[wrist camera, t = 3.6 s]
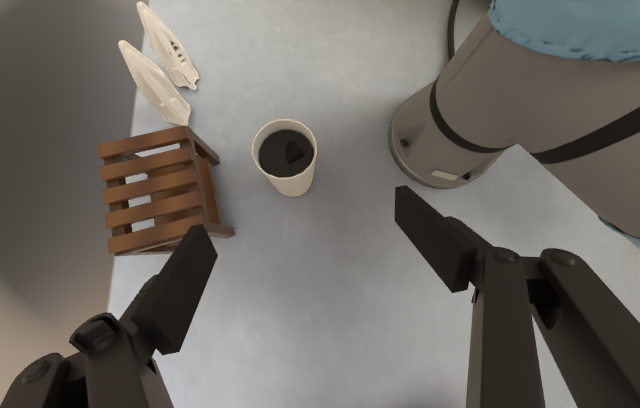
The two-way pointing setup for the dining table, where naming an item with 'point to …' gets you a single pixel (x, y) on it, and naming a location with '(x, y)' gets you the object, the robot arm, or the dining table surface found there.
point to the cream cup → (286, 155)
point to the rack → (159, 191)
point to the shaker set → (152, 76)
